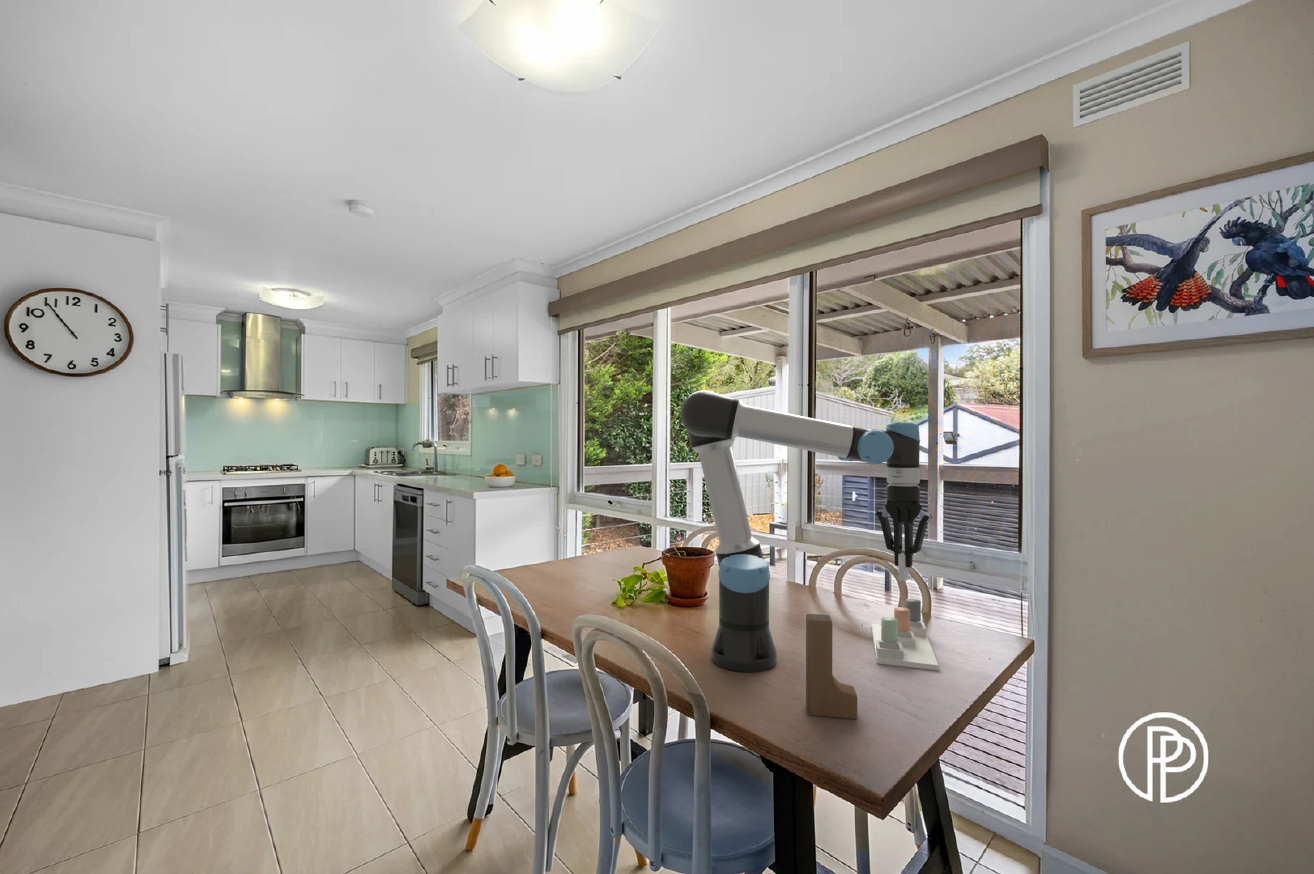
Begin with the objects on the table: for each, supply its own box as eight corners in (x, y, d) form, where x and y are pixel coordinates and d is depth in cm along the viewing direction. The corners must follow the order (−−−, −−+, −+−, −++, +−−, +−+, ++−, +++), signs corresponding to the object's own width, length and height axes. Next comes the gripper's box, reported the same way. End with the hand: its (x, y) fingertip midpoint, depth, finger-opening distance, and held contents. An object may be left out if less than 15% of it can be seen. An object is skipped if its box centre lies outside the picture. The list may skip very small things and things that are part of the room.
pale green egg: (881, 642, 133) (881, 620, 133) (880, 636, 137) (880, 616, 137) (898, 643, 132) (898, 622, 132) (897, 638, 136) (897, 617, 135)
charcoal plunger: (906, 621, 148) (906, 601, 148) (904, 616, 152) (905, 598, 152) (921, 622, 147) (921, 603, 147) (919, 618, 150) (919, 599, 150)
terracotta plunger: (894, 631, 141) (894, 610, 141) (893, 626, 144) (893, 606, 144) (910, 632, 140) (910, 612, 140) (908, 627, 143) (909, 607, 143)
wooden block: (853, 708, 110) (854, 615, 110) (857, 720, 106) (857, 623, 106) (805, 704, 112) (805, 612, 112) (807, 715, 107) (807, 620, 107)
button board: (876, 663, 132) (876, 649, 132) (871, 627, 156) (871, 616, 156) (938, 670, 128) (938, 656, 128) (923, 633, 152) (923, 621, 152)
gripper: (870, 484, 143) (871, 578, 143) (925, 487, 134) (926, 587, 134) (882, 482, 148) (882, 572, 148) (936, 484, 139) (936, 581, 140)
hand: (903, 579), depth 141 cm, fingers closed
